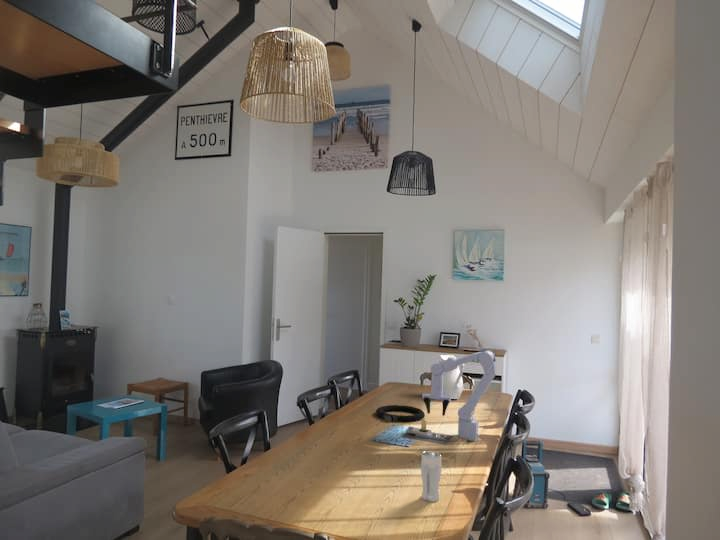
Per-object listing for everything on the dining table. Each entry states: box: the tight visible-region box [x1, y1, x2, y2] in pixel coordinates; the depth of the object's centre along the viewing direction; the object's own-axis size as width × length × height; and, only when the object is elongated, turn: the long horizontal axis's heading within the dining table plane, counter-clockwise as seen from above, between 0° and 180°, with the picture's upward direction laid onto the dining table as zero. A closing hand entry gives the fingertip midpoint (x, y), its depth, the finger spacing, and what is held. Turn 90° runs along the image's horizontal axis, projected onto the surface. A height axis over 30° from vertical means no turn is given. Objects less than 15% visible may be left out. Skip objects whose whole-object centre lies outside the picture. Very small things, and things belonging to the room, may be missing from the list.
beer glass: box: [420, 450, 443, 503], centre depth 176 cm, size 7×7×15 cm
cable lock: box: [375, 404, 426, 423], centre depth 287 cm, size 28×4×30 cm
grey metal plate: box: [405, 426, 448, 441], centre depth 247 cm, size 19×6×3 cm, turn 66°
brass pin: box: [420, 417, 427, 432], centre depth 247 cm, size 2×2×8 cm
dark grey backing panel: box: [400, 431, 454, 445], centre depth 246 cm, size 22×16×1 cm
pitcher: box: [439, 354, 465, 400], centre depth 338 cm, size 24×17×28 cm
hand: (436, 414), depth 256 cm, fingers open, 7 cm apart
